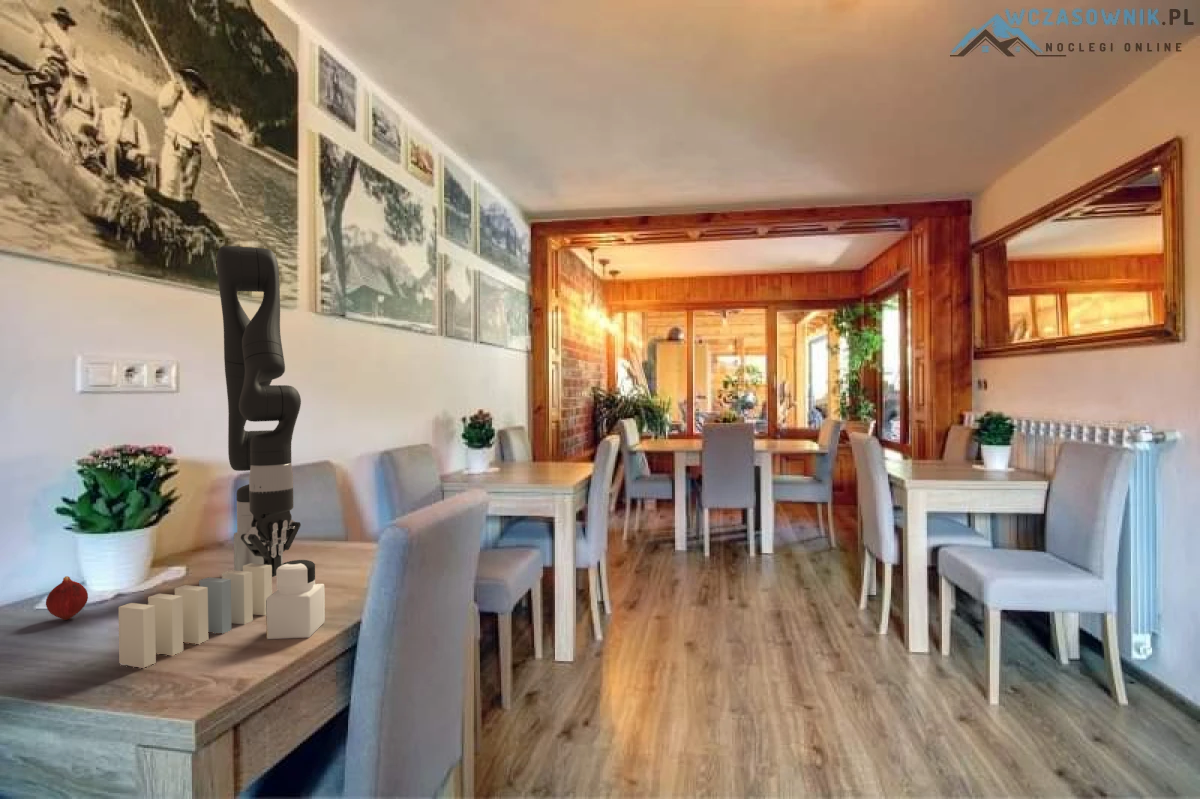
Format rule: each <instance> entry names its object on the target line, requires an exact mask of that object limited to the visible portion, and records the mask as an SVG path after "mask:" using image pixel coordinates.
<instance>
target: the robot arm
mask: <svg viewBox="0 0 1200 799" xmlns="http://www.w3.org/2000/svg"><path fill="white" fill-rule="evenodd" d="M279 270H280V268H279V263H278V259H277V256H276V254H275V252H274V251H273V250H271V249H268V248H266V247H265V248H263V247H250V246H239V245H238V246H237V245H235V246H234V245H222V246H220V247H219V249H218V250H217V255H216V271H217V280H218V281H217V282H218V288H219V296H220V304H221V305H220V306H221V311H222V320H223V321H222V322H223V323H222V324H223V358H224V359H223V360H224V374H225V375H224V376H225V383H226V384H225V385H226V394H227V395H226V396H227V406H228V407H227V410H228V411H227V413H228V418H227V419H228V420H227V421H228V428H227V429H228V431H227V433H228V434H227V436H228V437H227V439H228V440H227V441H228V442H227V444H228V446H227V449H228V450H227V451H228V454H227V455H228V460H229V464H230V468H231V469H232V470H234V471H238V472H243V471H244V472H245V471H246V472H247V471H248V472H249V477H248V478H249V479H248V482H249V483H248V484H245V485H242V486H241V487H239V488H238V489H237V490H236V532H234V533H233V570H235V571H243V566H244V565H247V564H250V563H251V564H264V565H272V578H273V577H276V569H277V567H278V566H280V565H281V564H283V563H284V560H283V559H284V557H283V554H284V552H285V551H289V550H290V549H291V546H292V545H293V542H294V540H295V538H296V536H297V534H298V532H299V530H300V528H301V522H299V521H295V520H294V519H292V514H291V511H292V510H293V509H294V473H293V465H292V440H293V435H294V430H295V426H296V422H297V419H298V416H299V413H300V410H301V405H302V400H301V395H300V393H299V391H298V390H297V388H296V387H294V386H292V385H278V384H276V385H271V383H272V381H273V380H276V379H278V378H281V377H282V376H283V375H284V373H285V371H286V365H285V359H284V358H285V357H284V351H283V344H282V339H281V338H282V337H281V335H282V334H281V298H280V297H281V294H280V293H281V292H280V284H281V283H280V271H279ZM238 292H251V293H252V292H253V293H254V292H257V293H258V292H259V293H262V292H263V297H262V300H261V301H262V302H261V304H260V305H259V308H258V309H257V310H256V313H255V314H254V315H253V317H252V318H251V320H250V318H249V317H248V315H247V313H246V312H245V310H244V308H243V307H242V305H241V303H240V300H239V298H238ZM247 421H248V422H253V423H255V422H278V423H277V426H276V427H275V428H274V429H272V430H269V429H268V430H249V431H248V430H245V426H246V423H247Z"/></svg>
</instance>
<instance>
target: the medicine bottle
mask: <svg viewBox="0 0 1200 799" xmlns="http://www.w3.org/2000/svg"><path fill="white" fill-rule="evenodd" d="M275 577H276V591H274V592H272V595H270V596H269V597H267V598H266V615H265V617H266V618H265V619H266V620H265V622H266V625H265V626H266V639H267V640H281V639H282V640H283V639H305V638H311V636H312V635H314V634H315V632H317V630H318V629H319V628H320V627H321V626H322V625H324V624H325V621H326V619H325V618H326V615H325V614H326V612H325V610H326V608H325V606H326V605H325V603H326V602H325V598H326V597H325V596H326V594H325V584H324V583H316V563H315V562H314V561H312V560H308V559H294V560H290V561H286V562H283V564H281V565H280V566H278V567H277V569H276V576H275Z"/></svg>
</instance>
